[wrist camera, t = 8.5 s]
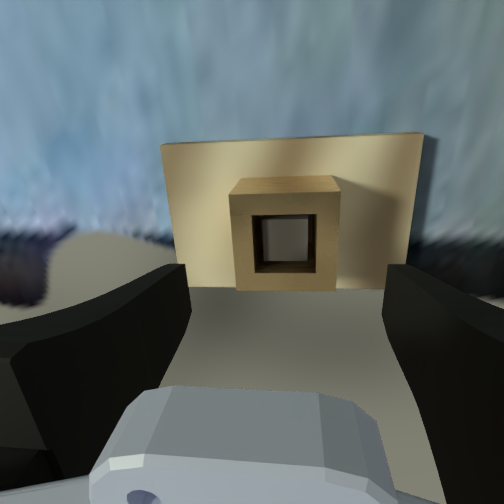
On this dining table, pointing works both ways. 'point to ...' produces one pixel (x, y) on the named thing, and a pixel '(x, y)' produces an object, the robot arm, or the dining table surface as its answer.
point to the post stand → (295, 225)
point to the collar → (284, 203)
